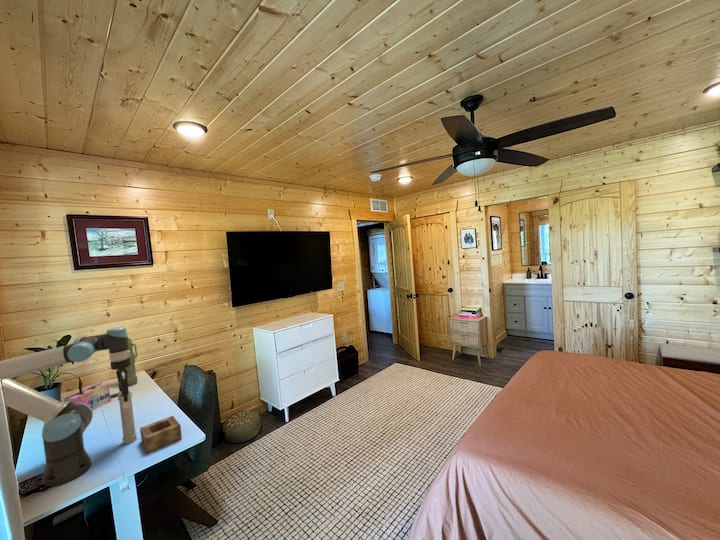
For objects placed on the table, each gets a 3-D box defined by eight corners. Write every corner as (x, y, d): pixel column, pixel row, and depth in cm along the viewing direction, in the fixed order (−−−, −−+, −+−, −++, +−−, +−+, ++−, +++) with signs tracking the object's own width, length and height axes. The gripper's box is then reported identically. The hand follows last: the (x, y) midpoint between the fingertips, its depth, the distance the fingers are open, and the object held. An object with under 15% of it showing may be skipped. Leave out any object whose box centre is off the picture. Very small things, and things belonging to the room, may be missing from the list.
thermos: (119, 387, 221) (113, 340, 220) (139, 381, 229) (134, 336, 228) (120, 390, 215) (115, 342, 213) (141, 384, 223) (135, 338, 221)
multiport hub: (107, 399, 203) (107, 395, 203) (128, 393, 210) (127, 390, 210) (107, 401, 200) (107, 397, 200) (128, 395, 207) (128, 391, 207)
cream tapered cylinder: (129, 444, 146) (122, 383, 145) (118, 444, 147) (111, 383, 146) (139, 437, 151) (133, 378, 150) (129, 437, 153) (122, 379, 152)
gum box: (103, 401, 199) (101, 382, 199) (113, 401, 198) (111, 382, 197) (65, 419, 177) (63, 398, 177) (76, 420, 176) (73, 398, 175)
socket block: (147, 453, 138) (145, 438, 138) (141, 441, 148) (140, 427, 148) (181, 438, 148) (180, 425, 147) (174, 428, 158) (172, 415, 157)
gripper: (132, 360, 143) (138, 408, 144) (126, 353, 157) (131, 397, 158) (112, 365, 138) (118, 415, 139) (108, 358, 151) (113, 403, 152)
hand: (125, 405), depth 148 cm, fingers closed on cream tapered cylinder, 5 cm apart
